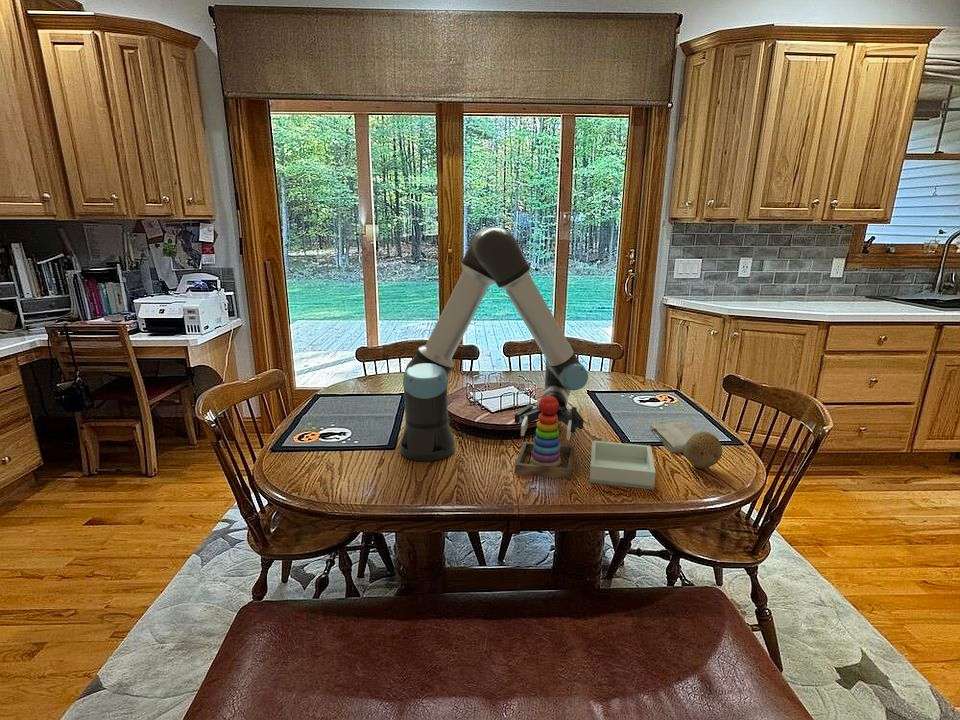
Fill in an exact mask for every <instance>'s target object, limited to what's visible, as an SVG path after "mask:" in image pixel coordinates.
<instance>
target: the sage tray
mask: <svg viewBox="0 0 960 720" xmlns="http://www.w3.org/2000/svg"><path fill="white" fill-rule="evenodd" d="M654 462H655V461H654V456H653V452H652V446H651V445H644V444H634V443H623V442H621V443H620V442H613V441H604V440H603V441H602V440H592V441H591V453H590V464H589V466H590V467H589V469H590V471H589V483H590V484H597V485H598V484H599V485H600V484H601V485H605V486H606V485H608V486H617V487H623V488H635V489H643V490H651V489H652V490H655V481H656V468H655V463H654ZM652 490H651V491H652Z"/></svg>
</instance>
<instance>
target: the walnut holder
mask: <svg viewBox="0 0 960 720" xmlns="http://www.w3.org/2000/svg"><path fill="white" fill-rule="evenodd" d="M534 442H535V441H534ZM534 442H532V441H523V442H522V445H521V448H520V451H519V452H518V456H517V458H516V460H515V461H516V462H515V464H514V474H516V473H519V474H518V475H525V474H526V475H527V476H533V477H544V478H553V479H563V480H572V475H573V473H572V472H573V466H574V461H575V449H576V448H575V446H574V445H573V446H572V445H565V444H564V445H563V444H560V450H559V451H560V456H564V455H565V457H568V462H567V463H568V464H567V467H561V466H559V467H552V466H543V465H533V464H532V463H531V464H530V463H523V462H524V460H525V457H526V455H527V453H531V452H532V449H533V444H534ZM526 475H525V476H526Z"/></svg>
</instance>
